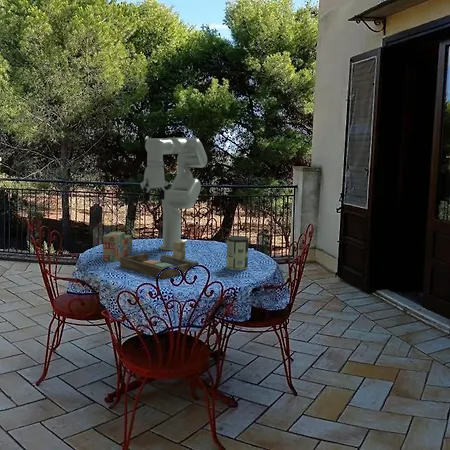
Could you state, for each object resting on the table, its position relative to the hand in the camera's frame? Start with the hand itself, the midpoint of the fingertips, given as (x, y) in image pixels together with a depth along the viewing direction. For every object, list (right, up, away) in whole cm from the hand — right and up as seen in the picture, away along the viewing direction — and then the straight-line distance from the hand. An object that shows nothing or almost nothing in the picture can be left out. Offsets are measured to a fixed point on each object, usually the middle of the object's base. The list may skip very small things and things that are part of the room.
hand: (154, 199), depth 245 cm
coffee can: (+40, -32, -11) cm, 53 cm away
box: (+3, -32, -21) cm, 39 cm away
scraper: (+13, -31, -10) cm, 35 cm away
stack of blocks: (-18, -28, +1) cm, 33 cm away
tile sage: (+7, -33, -22) cm, 40 cm away
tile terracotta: (+1, -32, -17) cm, 36 cm away
